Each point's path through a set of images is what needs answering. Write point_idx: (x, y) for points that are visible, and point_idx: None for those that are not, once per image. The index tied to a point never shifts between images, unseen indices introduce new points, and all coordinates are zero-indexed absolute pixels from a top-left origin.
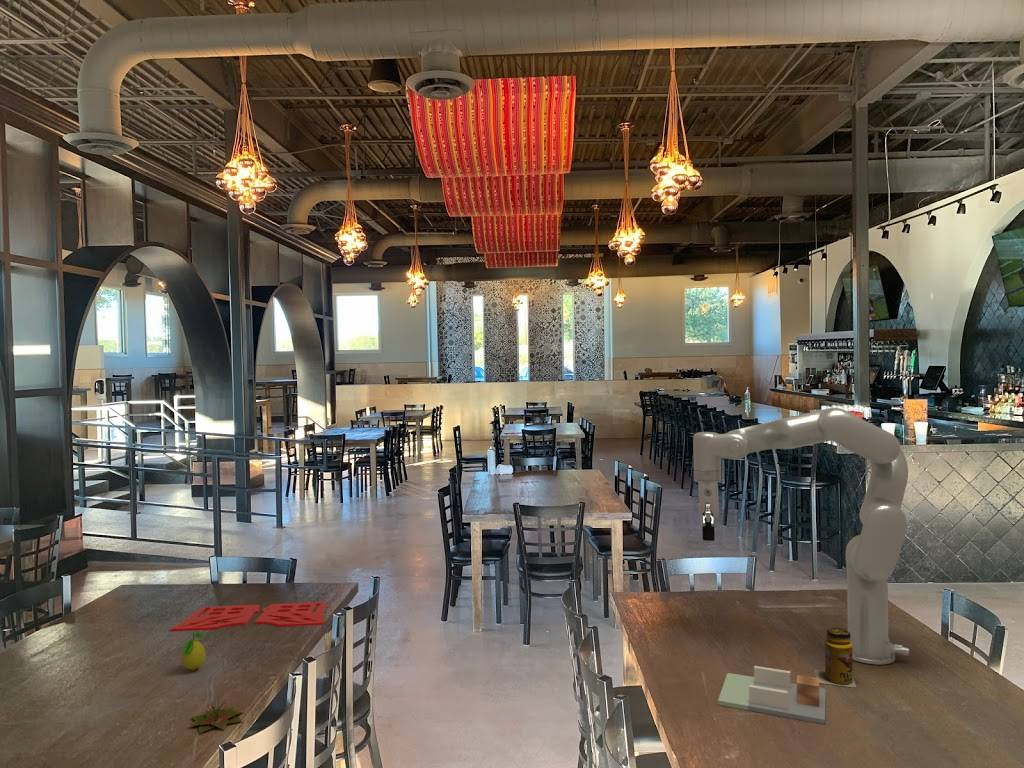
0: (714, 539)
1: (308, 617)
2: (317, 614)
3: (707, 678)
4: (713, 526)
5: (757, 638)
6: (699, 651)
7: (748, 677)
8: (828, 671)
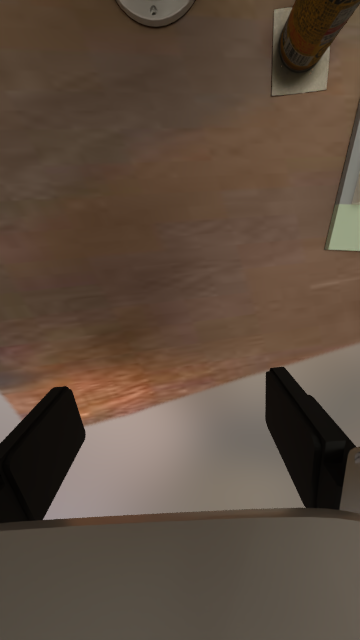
0: (283, 369)
1: None
2: None
3: (334, 277)
4: (344, 446)
5: (145, 213)
6: (235, 300)
7: (341, 215)
8: (324, 50)
